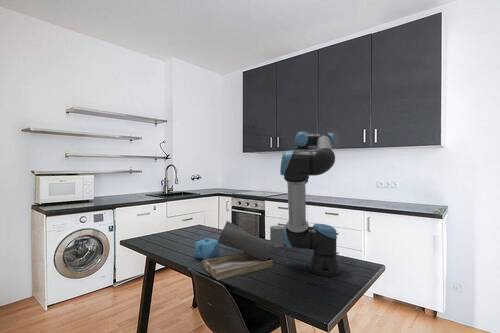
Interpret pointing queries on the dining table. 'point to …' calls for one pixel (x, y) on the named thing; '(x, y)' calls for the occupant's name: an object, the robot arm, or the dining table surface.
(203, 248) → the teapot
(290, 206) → the robot arm
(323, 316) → the dining table surface
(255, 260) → the tray
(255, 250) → the vase
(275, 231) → the grey cylinder
